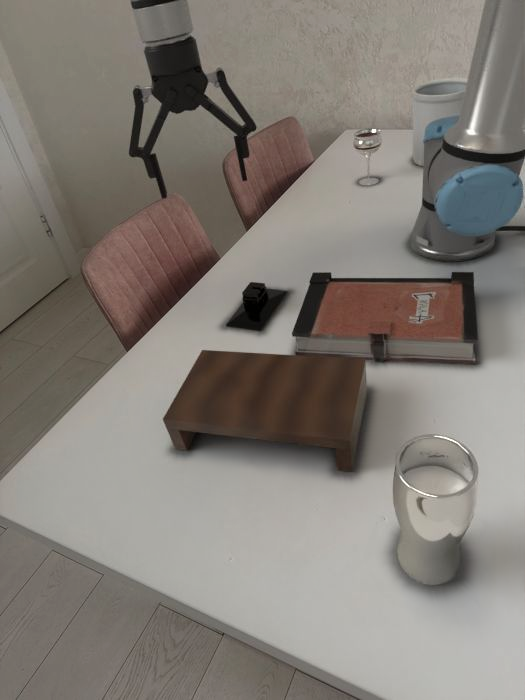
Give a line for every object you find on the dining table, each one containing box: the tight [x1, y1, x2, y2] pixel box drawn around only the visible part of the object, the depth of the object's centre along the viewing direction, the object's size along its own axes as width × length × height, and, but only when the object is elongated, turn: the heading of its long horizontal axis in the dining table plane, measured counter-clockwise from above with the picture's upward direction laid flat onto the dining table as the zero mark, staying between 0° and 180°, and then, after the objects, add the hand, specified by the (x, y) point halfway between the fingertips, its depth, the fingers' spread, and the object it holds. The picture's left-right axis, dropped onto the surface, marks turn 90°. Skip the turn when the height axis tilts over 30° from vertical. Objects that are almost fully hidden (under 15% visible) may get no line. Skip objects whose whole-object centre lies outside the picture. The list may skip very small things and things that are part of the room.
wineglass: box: [353, 127, 383, 186], centre depth 124 cm, size 7×7×12 cm
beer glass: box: [392, 433, 479, 586], centre depth 46 cm, size 7×7×15 cm
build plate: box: [225, 281, 289, 332], centre depth 89 cm, size 12×7×5 cm, turn 156°
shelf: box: [162, 349, 368, 473], centre depth 67 cm, size 24×14×6 cm, turn 74°
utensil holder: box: [411, 77, 468, 167], centre depth 126 cm, size 15×15×18 cm
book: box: [291, 271, 479, 366], centre depth 79 cm, size 26×18×5 cm
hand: (204, 187), depth 83 cm, fingers open, 13 cm apart
